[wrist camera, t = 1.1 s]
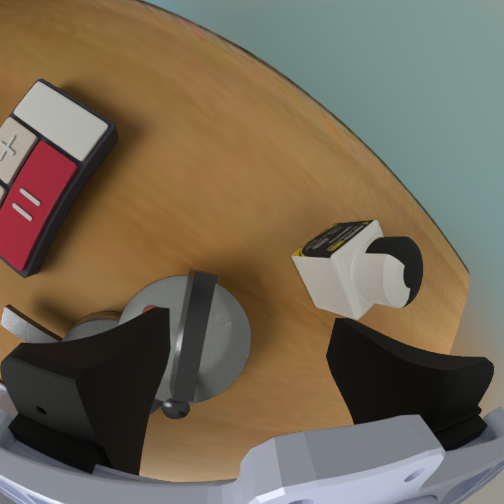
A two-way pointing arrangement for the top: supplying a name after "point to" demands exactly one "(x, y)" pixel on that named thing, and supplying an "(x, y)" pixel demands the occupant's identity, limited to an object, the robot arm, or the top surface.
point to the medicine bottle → (359, 268)
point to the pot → (39, 334)
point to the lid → (196, 337)
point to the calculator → (45, 169)
